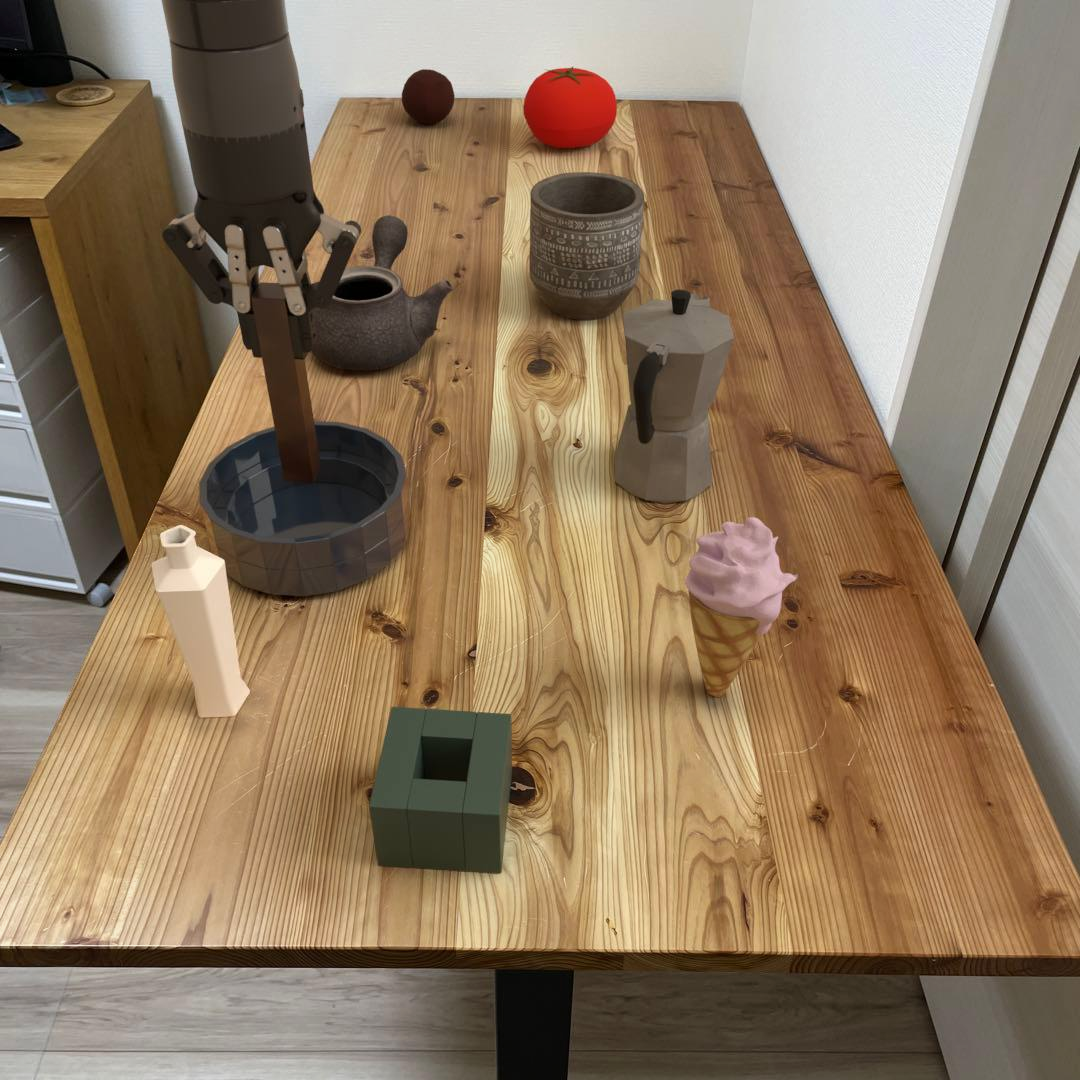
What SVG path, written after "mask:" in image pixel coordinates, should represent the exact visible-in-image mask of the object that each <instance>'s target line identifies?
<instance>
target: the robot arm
mask: <svg viewBox="0 0 1080 1080" xmlns="http://www.w3.org/2000/svg"><path fill="white" fill-rule="evenodd" d="M161 5H162V10H163V14H164V20H165V25H166V29H167V30H166V31H167V35H168V40H169V47H170V57H171V58H170V59H171V71H172V72H171V73H172V80H173V87H174V91H175V97H176V101H177V107H178V111H179V115H180V120H181V125H182V130H183V135H184V140H185V141H184V142H185V145H186V150H187V155H188V160H189V164H190V170H191V175H192V179H193V184H194V185H193V186H194V187H195V191H196V194H197V195H196V196H197V197H196V202H195V204H194V206H193V207H194V208H193V211H192V212H189V213H188V214H183V213H178V214H176V215H175V216H174V217H173V218H172V220H171V221H170V222H169V224H168V225H167V226H166V227H165V228H164V230H163V231H162V234H161V236H162V239H163V241H164V242H165V244H166V245H167V247H168V248H169V249H170V250H171V252H172V253H173V254H174V256H175V257H176V259H177V260H178V261H179V263H180V264H181V265H182V267H183V268H184V269H185V271H186V272H187V273H188V275H189V276H190V277H191V279H192V281H193V282H194V283H195V284H196V286H197V287H198V288H199V290H200V291H201V292H202V294H203V295H204V296H205V298H206V299H207V301H209V302H210V303H212V304H213V305H214V304H215V305H219V304H221V303H222V304H225V305H228V306H231V307H232V308H233V309H234V310H235V312H236V314H237V318H238V323H239V328H240V329H239V330H240V334H241V339H242V344H243V346H244V347H245V349H246V350H248V351H251V353H252V357H253V358H258V359H262V356H261V350H260V345H259V339H258V334H257V329H256V323H255V318H254V312H253V307H252V301H251V297H252V295H253V294H254V292H255V290H256V289H257V287H258V285H259V283H260V273H259V271H260V267H262V266H264V267H268V268H272V269H274V272H275V275H276V279H277V283H279V285H280V286H281V287H283V290H284V294H285V297H286V300H287V304H288V307H289V310H290V313H289V314H288V321H289V327H290V333H291V339H292V346H293V352H294V358H295V359H301V360H305V361H306V358H307V356H308V354H309V353H312V352H311V351H312V349H313V347H314V344H315V342H316V339H317V333H316V326H315V319H314V312H313V309H314V308H317V307H318V308H321V309H324V308H327V307H328V306H329V304H330V302H331V300H332V298H333V295H334V293H335V291H336V289H337V287H338V284H339V282H340V280H341V278H342V275H343V273H344V271H345V268H347V266H348V263H349V261H350V260H351V257H352V254H353V252H354V250H355V247H356V245H357V243H358V240H359V238H360V237H361V233H362V226H361V225H360V223H358V222H357V221H355V220H347V221H346V222H342V221H340V220H338V219H336V218H334V217H332V216H331V215H328V214H326V213H325V210H324V209H325V208H324V206H323V204H322V202H321V201H320V199H319V198H318V196H317V194H316V192H315V189H314V181H313V174H312V172H313V171H312V165H311V159H310V151H309V142H308V135H307V128H306V121H305V120H306V119H305V112H304V107H305V100H304V99H305V98H304V93H303V89H302V87H301V82H300V76H299V70H298V65H297V61H296V57H295V54H294V50H293V46H292V42H291V37H290V32H289V23H288V16H287V8H286V0H161ZM317 232H318V233H319V234H320V235H321V236H322V248H323V250H324V252H325V253H326V254H327V255H329V257H328V260H327V263H326V265H325V266H324V270H323V272H322V274H321V277H320V279H319V281H316V282H312V281H311V277H310V273H309V261H308V257H307V253H306V248H308V246H309V244H310V242H311V241H312V240H313V238H314V236H315V234H316V233H317ZM207 235H208V236H209V237H210V238H211V239H212V240H213V242H215V243H216V244H217V246H218V247H220V249H221V250H222V251H223V252H224V253H225V254H226V255H227V268H228V270H227V268H226V267H225V266H224V265H223V263H222V261H221V260H220V259H219V258H218V256H217V255H216V253H215V251H213V249H212V248H211V245H209V244H208V242H207V241H206V240H207Z"/></svg>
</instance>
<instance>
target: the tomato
mask: <svg viewBox="0 0 1080 1080" xmlns="http://www.w3.org/2000/svg"><path fill="white" fill-rule="evenodd" d="M543 70H544V71H545V72H543V73H541V74H540V75H539V76H537V77H536V78H535V79H534V80H533V81H532V83H531V84H530V86H529V88H528V89H527V91H526V94H525V96H524V101H523V105H522V107H523V108H522V109H523V117H524V119H525V123H526V124H527V127H528V128H529V130H530V132H531V133H532V135H533V136H534V137H535V138H536V140H537V141H539V142H541V143H543V144H545V145H546V146H549V147H552V148H556V149H557V148H558V149H575V148H585V147H588V146H589V147H590V146H592V145H594V144H596V143H598V142H599V141H601V140H602V139H603V138H604V137H605V136H606V135H607V134H609V132H610V130H611V129H612V127H613V126H614V124H615V122H616V118H617V113H618V105H617V103H618V102H617V99H616V94H615V92H614V89H613V87H612V86H611V85H610V83H609V82H608V81H607V80H606V79H605V78H603V77H602V76H601V75H599V74H597V73H595V72H593V71H590V70H587V69H583V68H578V67H574V66H572V67H563V68H553V69H547V70H546V69H545V68H543Z"/></svg>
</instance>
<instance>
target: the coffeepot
mask: <svg viewBox="0 0 1080 1080" xmlns="http://www.w3.org/2000/svg"><path fill="white" fill-rule="evenodd" d="M670 297H671V299H650V300H648V301H647V302H644V303H643V304H640V305H638V306H636V307H634V308H631V309H630V310H628V311H626V312H624V313H622V319H623V320H622V321H623V333H624V343H625V344H624V345H625V355H626V368H627V369H626V370H627V381H628V391H629V392H628V393H629V401H630V404H629V405H628V407H627V410H626V413H625V418H624V421H623V425H622V428H621V431H620V435H619V438H618V443H617V446H616V450H615V453H614V457H613V461H614V465H613V466H614V467H613V468H614V483H616V484H617V485H618V486H620V487H621V488H622V489H623V490H624V491H626V492H627V493H628V494H630V495H632V496H633V497H635V498H638V499H640V500H641V499H642V500H644V501H647V502H653V503H661V504H674V503H675V504H676V503H681V502H687V501H689V500H693V499H694V498H696V497H698V496H699V495H701V494H702V493H704V492H705V490H706V489H707V488H708V487H710V486H712V485H713V478H712V458H711V439H710V421H709V406H711V405H712V404H713V403H714V402H715V399H716V396H717V393H718V389H719V387H720V383H721V380H722V377H723V375H724V370H725V367H726V365H727V361H728V357H729V355H730V351H731V348H732V345H733V342H734V340H735V339H734V338H735V336H734V332H733V329H732V324H731V319H730V316H729V315H728V314H726V313H724V312H721V311H719V310H717V309H715V308H713V307H711V303H710V301H711V300H710V297H708V296H702V297H700V296H699V295H698V294H695V293H691V292H690V291H688V290H686V289H674V290H673V291H670Z"/></svg>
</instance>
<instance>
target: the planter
mask: <svg viewBox="0 0 1080 1080" xmlns="http://www.w3.org/2000/svg"><path fill="white" fill-rule="evenodd" d="M529 195H530V197H529V198H530V199H529V200H530V202H529V203H530V208H529V257H528V259H529V262H528V263H529V277H530V280H531V282H532V284H533V286H534V288H535V290H536V292H537V293H538V294H539V296H540V298H541V299H542V300H543V302H544V303H545V305H546V306H547V307H548V309H549V310H550V311H552V312H553V313H554V314H556V315H558V316H560V317H563V318H566V319H569V320H570V319H571V320H577V321H591V320H598V319H602V318H606V317H609V316H610V315H613V314H614V313H616V311H617V310H618V309H619V308H620V306H622V304H623V303H624V302H625V301H626V299H627V297H629V295H630V294H631V292H632V291H633V289H634V288H635V286H636V285H637V283H638V281H639V275H640V266H641V246H642V235H643V234H642V233H643V224H644V223H643V221H644V206H645V205H644V204H645V193H644V190H643V189H642V188H641V186H639V184H638V183H636V182H634V181H633V180H630V179H628V178H625V177H623V176H620V175H616V174H610V173H605V172H604V173H601V172H591V171H590V172H589V171H577V172H576V171H574V172H572V171H571V172H562V173H557V174H555V175H551V176H548V177H546V178H544V179H541V180H539V181H538V182H536V183H535V184H534V185H532V187H531V189H530V193H529Z"/></svg>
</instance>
